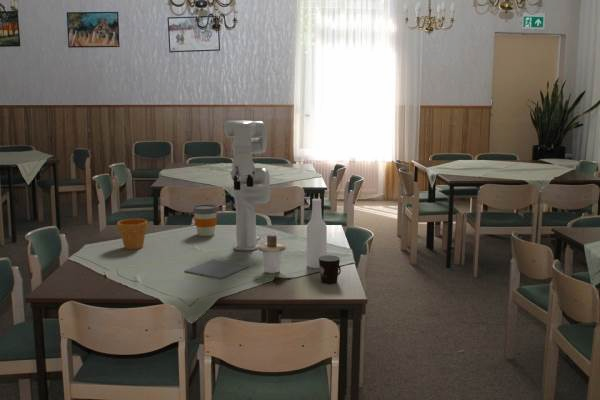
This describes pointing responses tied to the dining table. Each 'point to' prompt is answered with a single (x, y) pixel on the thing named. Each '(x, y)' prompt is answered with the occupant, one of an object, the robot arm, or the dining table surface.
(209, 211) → the reusable coffee cup
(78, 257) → the dining table surface
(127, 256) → the dining table surface
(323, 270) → the coffee mug
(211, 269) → the mat
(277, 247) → the lid
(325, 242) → the alcohol
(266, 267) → the white cup
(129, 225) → the flower pot
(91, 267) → the dining table surface
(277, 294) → the dining table surface
